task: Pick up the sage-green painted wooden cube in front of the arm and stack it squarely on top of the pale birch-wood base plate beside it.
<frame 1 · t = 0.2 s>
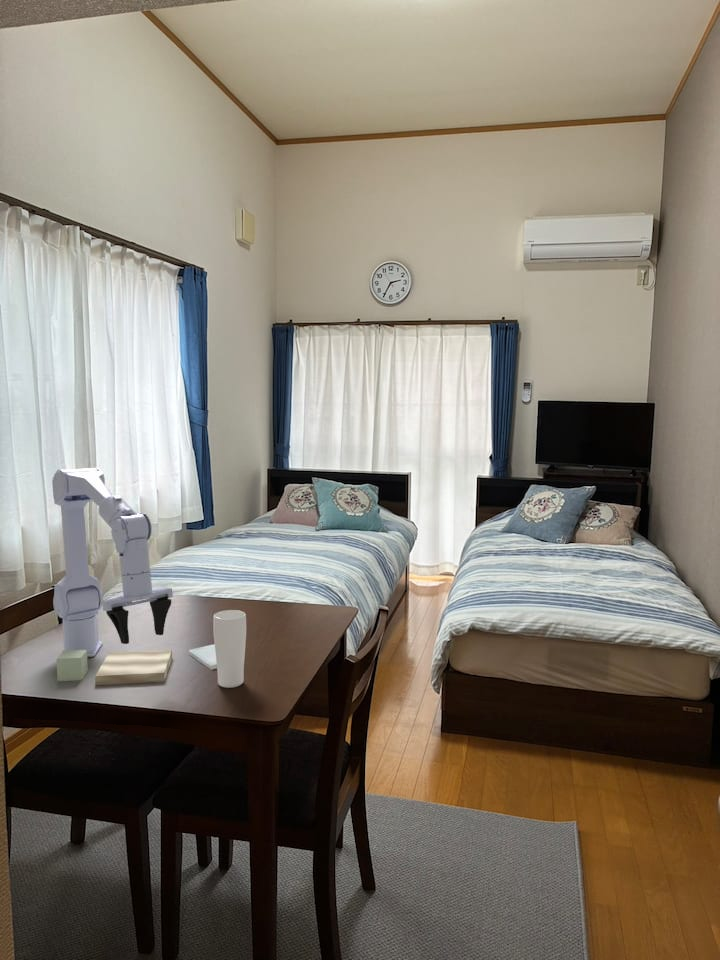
hand: (142, 638, 144), 11 cm above the table, tool pointing down, fingers open, 7 cm apart
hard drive: (216, 661, 162), on the table
drinking glass: (230, 684, 147), on the table
birch base: (135, 671, 154), on the table
sage cube: (72, 676, 151), on the table
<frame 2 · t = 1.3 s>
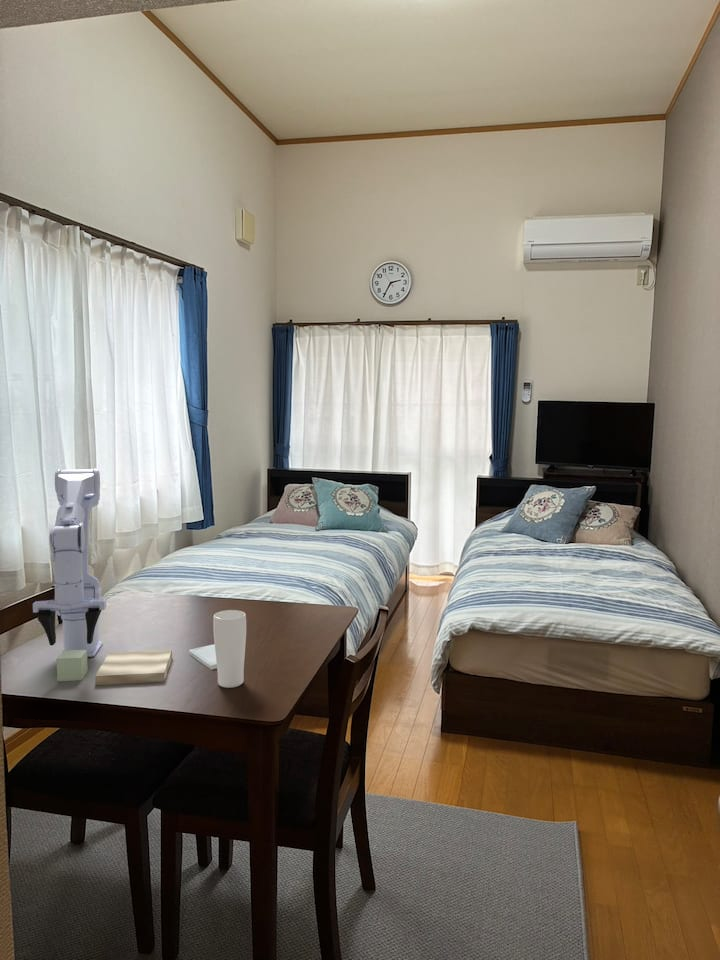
hand: (71, 643, 150), 7 cm above the table, tool pointing down, fingers open, 7 cm apart
nothing on the table moved.
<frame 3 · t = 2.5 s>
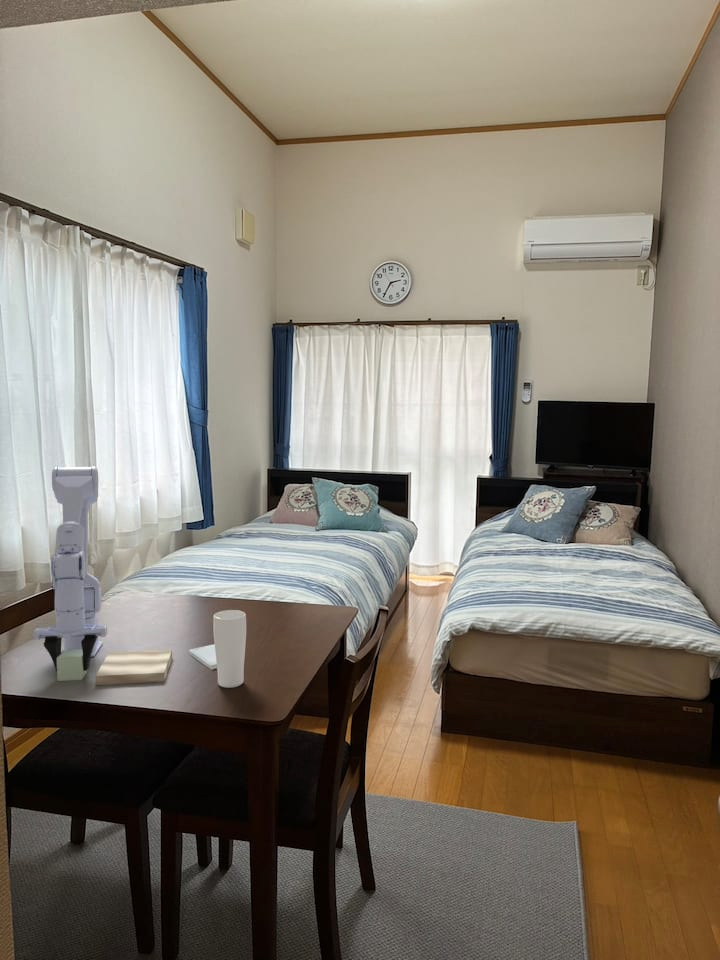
hand: (72, 669, 151), 1 cm above the table, tool pointing down, fingers closed on sage cube, 5 cm apart
sage cube: (72, 675, 151), on the table, touching gripper
everything else where it was.
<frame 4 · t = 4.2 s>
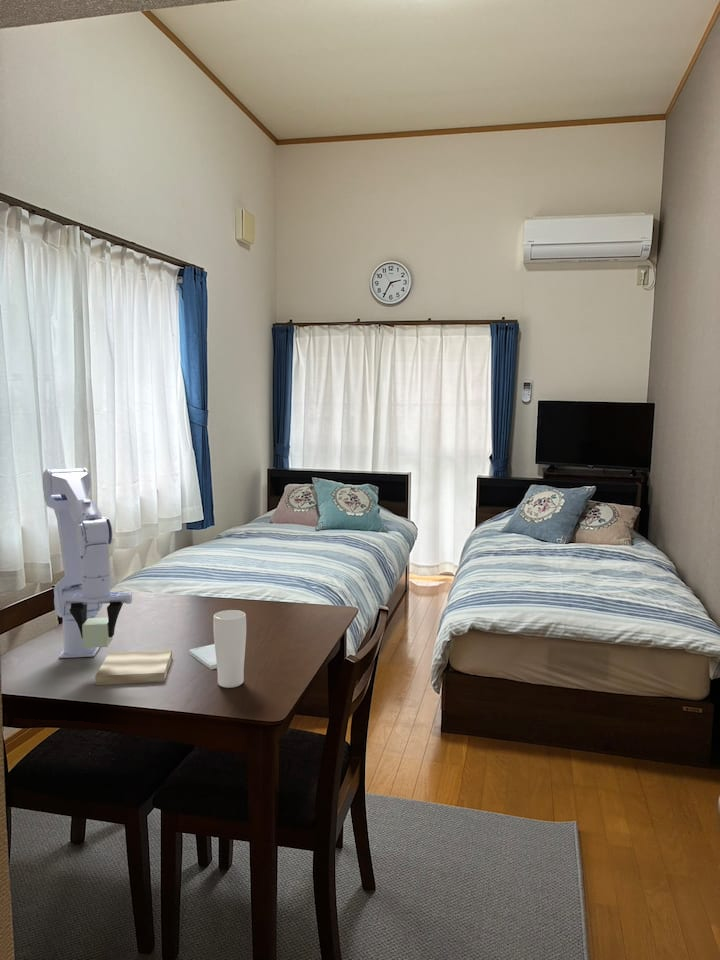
hand: (98, 636, 151), 8 cm above the table, tool pointing down, fingers closed on sage cube, 5 cm apart
sage cube: (98, 643, 151), point 7 cm above the table, touching gripper
everything else where it was.
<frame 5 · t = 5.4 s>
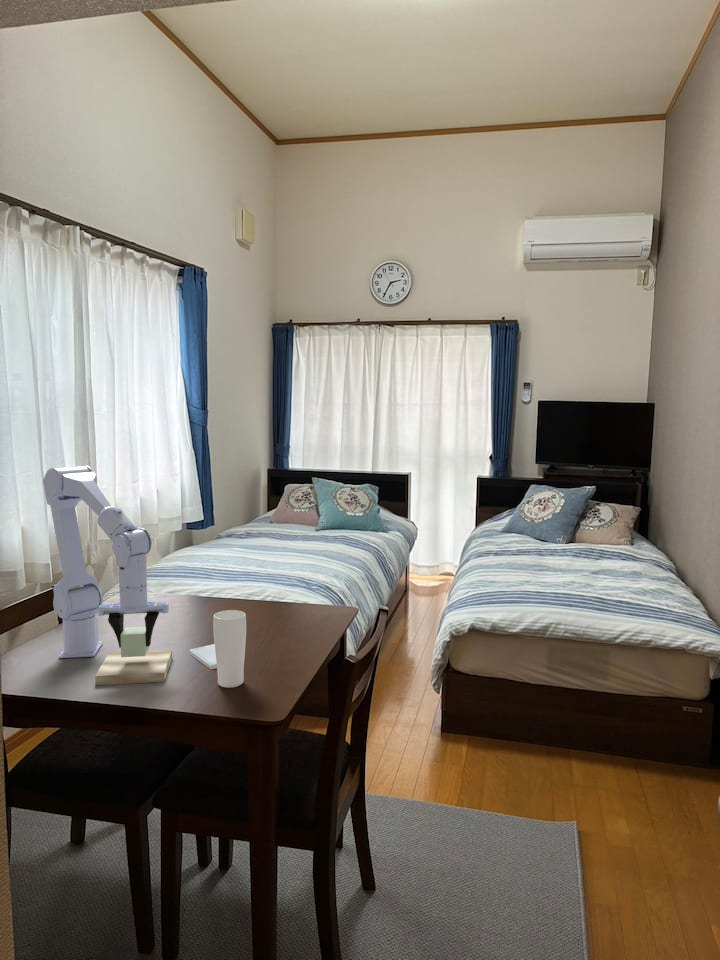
hand: (135, 645, 153), 6 cm above the table, tool pointing down, fingers closed on sage cube, 5 cm apart
sage cube: (135, 652, 153), point 4 cm above the table, touching gripper
everything else where it was.
when the fingers open (4 cm above the table, at t = 6.2 s): sage cube stays where it is, resting on birch base.
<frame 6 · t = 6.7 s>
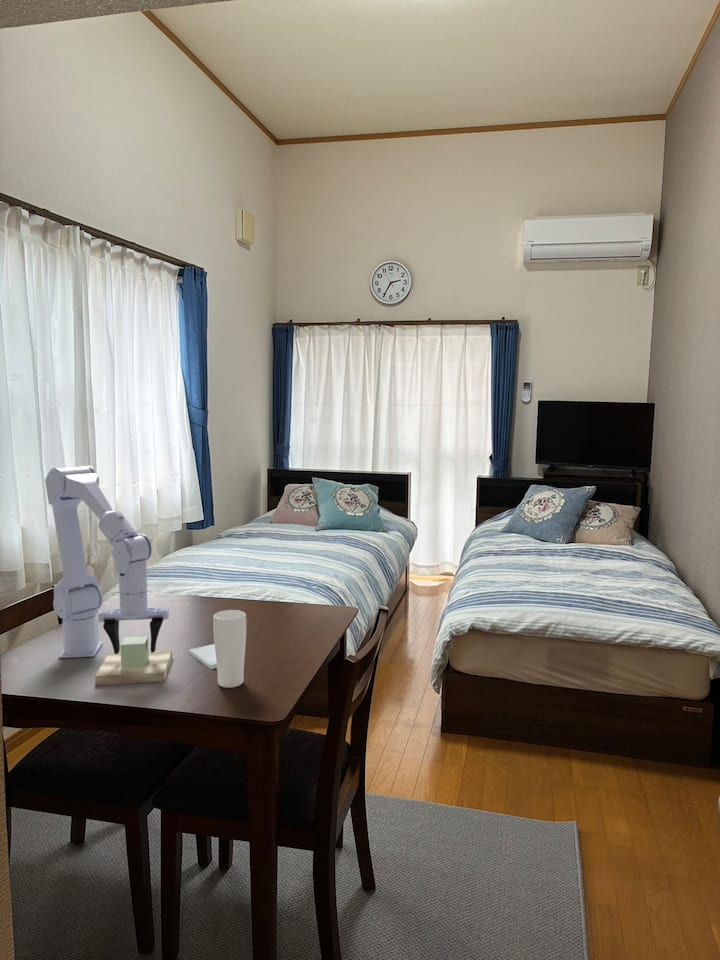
hand: (135, 651, 153), 4 cm above the table, tool pointing down, fingers open, 7 cm apart
sage cube: (135, 662, 154), point 2 cm above the table, touching birch base
everything else where it was.
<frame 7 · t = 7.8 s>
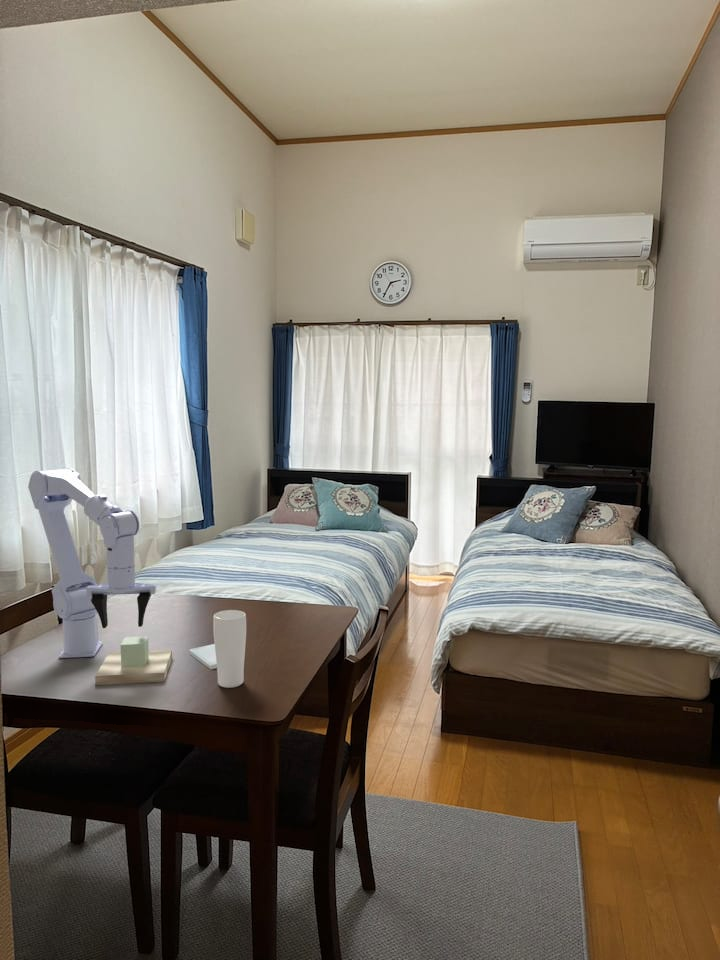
hand: (122, 626, 155), 9 cm above the table, tool pointing down, fingers open, 7 cm apart
nothing on the table moved.
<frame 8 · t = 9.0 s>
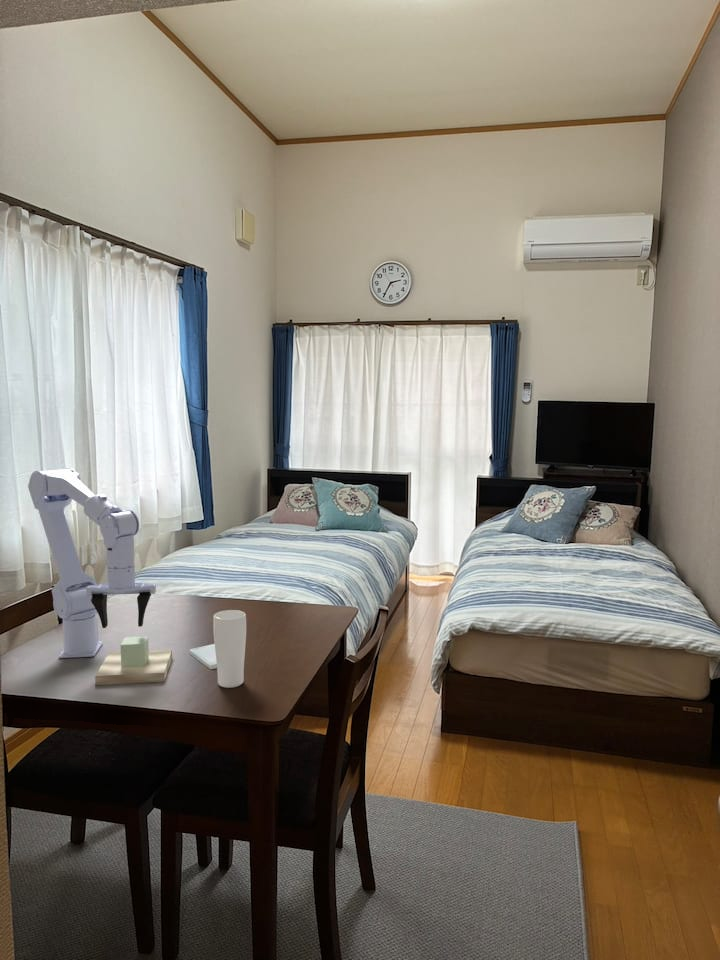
hand: (122, 625, 155), 9 cm above the table, tool pointing down, fingers open, 7 cm apart
nothing on the table moved.
at the end: sage cube inside the target area on the birch base (0.1 cm from its centre), point 2.0 cm above the birch base's base; sage cube tilted 0°; the gripper is holding nothing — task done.
